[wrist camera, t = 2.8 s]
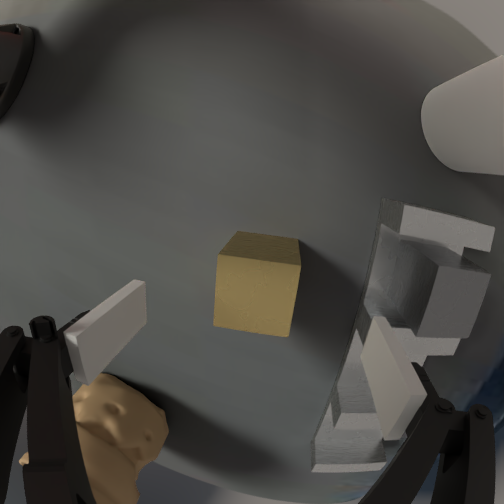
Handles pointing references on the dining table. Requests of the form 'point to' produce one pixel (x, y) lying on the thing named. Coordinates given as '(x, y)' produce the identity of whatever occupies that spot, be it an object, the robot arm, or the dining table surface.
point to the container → (116, 437)
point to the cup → (468, 120)
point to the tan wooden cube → (257, 283)
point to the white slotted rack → (402, 319)
